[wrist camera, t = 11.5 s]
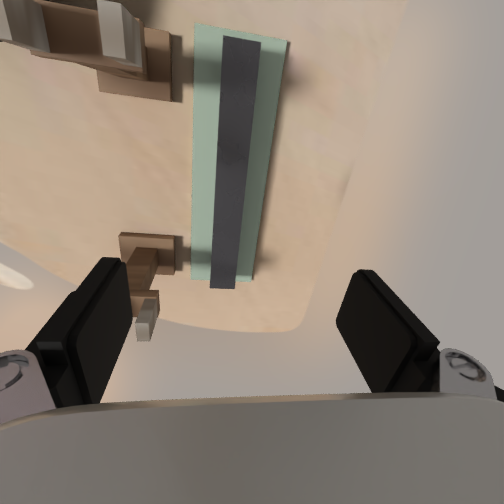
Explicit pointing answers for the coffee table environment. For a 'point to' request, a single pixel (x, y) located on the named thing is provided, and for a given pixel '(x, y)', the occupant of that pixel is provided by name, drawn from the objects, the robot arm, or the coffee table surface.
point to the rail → (232, 154)
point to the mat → (206, 138)
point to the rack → (111, 81)
